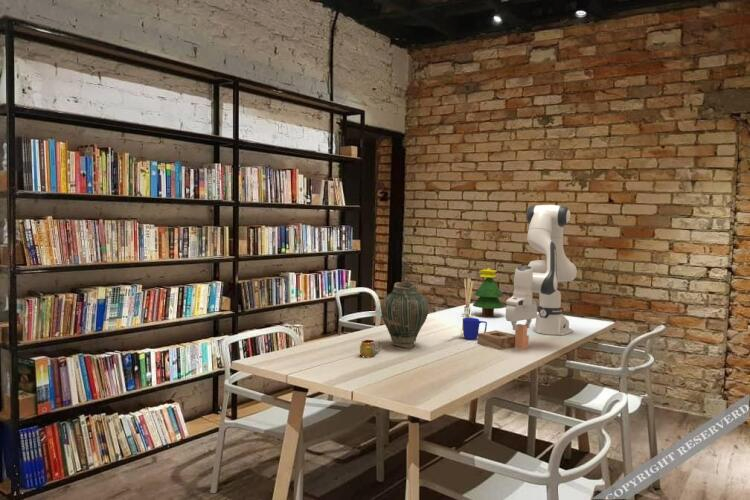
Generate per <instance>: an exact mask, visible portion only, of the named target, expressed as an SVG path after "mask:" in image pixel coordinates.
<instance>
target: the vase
mask: <svg viewBox="0 0 750 500" xmlns="http://www.w3.org/2000/svg"><path fill="white" fill-rule="evenodd" d="M417 289H418V288H417V286H416V284H415V283H414V282H412V281H401V282H399V281H397V282H395V283H394V285H393V289H392V291H391V292H390V293H388V294H387V295H385V296H384V298H383V300H382V302H381V305H380V306H381V307H380V311H381V317H382V320H383V322H384V323H383V324H384V325H385V327H386V329H387V331H388V333H389V336H390V339H391V341H392V343H391V344H392V346H393V345H394V346H397V347H401V348H406V349H407V348H408V349H410V348H414V347H415V342H416V341H417V337H418V335H419V333H420V331H421V329H422V327H423V326H424V324H425V322H426V320H427V318H428V314H429V309H430V307H429V303H428V299H427V298H426V297H425V295H423V294H421V293H419V292H418V290H417Z"/></svg>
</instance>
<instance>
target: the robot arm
mask: <svg viewBox="0 0 750 500" xmlns="http://www.w3.org/2000/svg"><path fill="white" fill-rule="evenodd" d="M525 217H526V222H527V223H528V224H529V226H528V230H527V236H526V238H527V239H526V240H527V243H528V244H529V246H530V247H531V248H533V249H534V250H536V251H537V252H540V253H541V254H544V255H545V256H546V260H545V259H544V260H543V259H537V260H536V259H535V260H531V261H530V262H529V263H528V265H519V266H517V267H516V269H515V271H514V276H513V286H514V290H513V293H512V296H510V297H509V298H507V299H506V301H505V304H506V306H505V320H506V321H507V322H511V326H512V331H515V330H518V329H517V328H518V327H517V326H516V324H518V322H519V321H525V322H526V323H525V324H524V325H527V329H530V325H531V324H532V319H535V325H534V327H533V328H532V329H533V330H534V332H535V333H538V334H543V335H549V336H550V335H551V336H555V335H556V336H566V335H569V334H571V333H573V332H574V329H572V328H570V321H569V320H568V318H566V316H564V314H563V312H565V311H566V308H565V307H564V306H561V305H562V304H561V303H562V301H561V300H562V294H561V291H560V290H558V282H559V283H560V282H561V283H564V282H565V283H566V282H572V281H574V280H575V279H576V276H577V274H578V272H577V271H578V270H577V267H576V265H575V264H574V263H573V262H572V261H571V260H570V259H569V258H568V257H567V255H566V253H565V250H564V227H565V226H566V225H568V224H569V222H570V219H571V210H570V208H569V207H568V206H566V205H561V204H560V205H556V204H540V205H539V204H532V205H530V206H529V207H527V210H526V213H525ZM533 293H535V294H538V297H539V301H538V302H539V304H538V306H537V302H536V300H535V299H534V298H533Z"/></svg>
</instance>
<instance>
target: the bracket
mask: <svg viewBox="0 0 750 500" xmlns="http://www.w3.org/2000/svg"><path fill="white" fill-rule="evenodd" d="M516 326H517V327H518V328H517V329H518V330H514V331H515V332H514V333H515V334H514V335H515V347H514V348H516V349H519V350H525V349H529V342H530V341H529V338H530V337H529V335H528V328H527V325H525V324H521V323H516Z"/></svg>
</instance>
